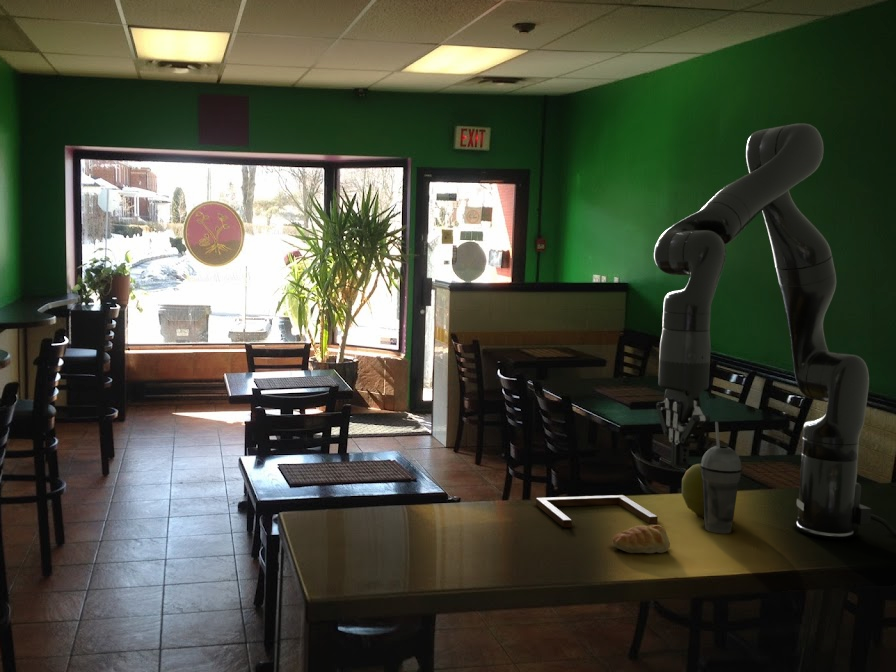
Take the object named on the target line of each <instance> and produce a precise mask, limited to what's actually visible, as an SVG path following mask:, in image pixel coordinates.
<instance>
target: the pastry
mask: <svg viewBox="0 0 896 672" xmlns="http://www.w3.org/2000/svg"><path fill="white" fill-rule="evenodd" d="M611 546H613V547H614V548H616V549H619V550H621V551H623V552H626V553H630V554H634V553H637V554H655V553H659V554H661V553H662V554H663V553H665V552H667V551H668V550H669V549H670V547H671V542H670V539H669V536H668V535H667V532H666V529H665V528H664V527H663V526H661V525H660V524H649V525H634V526H632V527H630V528H628V529H626V530H622V531H620V532H619V533H617V534H614V535H613V538H612V541H611Z"/></svg>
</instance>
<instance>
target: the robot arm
mask: <svg viewBox="0 0 896 672" xmlns="http://www.w3.org/2000/svg"><path fill="white" fill-rule="evenodd" d="M824 149H825V148H824V141H823V138H822V136H821V133H820V131H819V130H818V129H817V127H815V126H814V125H812V124H809V123H791V124H786V125H785V124H784V125H780V126H774V127H769V128H764V129H759V130H756V131H754V132H752V133H751V135H750V136H749V137H748V139H747V143H746V148H745V158H746V164H747V169H748V174H745V175H743V176H741V177H740V178H738V179H736V180H735V181H732V182H731V183H729V184H727V185H726V186H724V187H723V188H721V189H720V190H719V191H718V192H716V193H715V194H713V195H714V196H712V198H710V199H709V200H708V201H707V202H706V203H705V204H704V205H703V206H702V207H701V209H700V210H699V211H697V212H695V213H693V214H690V215H689V216H687V217H685V218H684V219H681V220H680V221H678V222H676V223H674V224H673V225H671V226H670V227H669V228H667V229H666V230H665V231H663V233H662V234H661V235H660V236H659V238H658V240H657V242H656V244H655V246H654V252H653V259H654V262H655V264H656V266H657V268H658V269H659V270H660V271H661V272H663V273H665V274H668V275H673V276H689V279H688V282H687V284H686V285H685V287H684V288H683V289H678V290H673V291H669V292H668V293H667V294H666V295H665V296H664V299H663V308H662V309H663V310H662V311H663V312H662V329H661V336H660V342H659V356H658V357H659V358H658V360H659V361H658V378H657V379H658V381H657V383H658V386H659V387H660V388H662V389H665V391H664V394H663V395H664V397H663V398H664V399H663V401H657V402H656V403H655V407H656V408H655V409H656V411H657V415H658V418H659V422H660V426H661V429H662V432H663V433H662V434H663V435H664V436H665V437H668V442H669V443H671V447H670V449H671V450H670V465H671V466H672V467H674V468H675V469H688V467H689V464H690V463H689V462H690V446H691V445H692V444H693V445H694V444H698V443H699V442H700V440H701V438H702V436H703V434H704V433H705V431H706V429H707V427H708V426H709V424H710V422H711V416H710V415H709V414H704V413H703V411H702V405H703V402H702V396H701V393H702V392H703V391H706V390H708V389H709V386H710V369H711V368H710V367H711V349H712V348H711V346H712V345H711V344H712V343H711V331H710V329H711V312H712V303H713V300H714V297H715V293H716V290H717V287H718V285H719V281H720V278H721V276H722V273H723V271H724V268H725V267H724V266H725V263H726V257H727V250H726V245H728V244H730V243H731V242H732V241H734V240H735V239H736V238H737V237H738V236H739V235H740V234H741V232H742V231H744V230H745V228H747V226H748V225H749V224H750V223H751V222H752V221H753V220H754V219H755V218H756V217H757V216H758V215H759V214H760V213H761V212H762V215H763V219H764V223H765V225H766V229H767V233H768V237H769V242H770V245H771V250H772V251H771V252H772V256H773V262H774V267H775V271H776V275H777V280H778V284H779V288H780V291H781V295H782V300H783V305H784V309H785V314H786V319H787V325H788V330H789V331H788V332H789V336H790V344H791V345H790V347H791V354H792V364H793V372H794V378H795V382H796V385H797V388H798V389H799V391H800V393H802V395H803V396H804V397H806V398H808V399H811V400H815V401H820V402H823V403H826V404H827V405H826V410H825V414H824V415H823V416H822V417H818V418H815V419H809V420H807V421H805V422H804V423H803V426H802V439H801V456H800V457H801V458H800V472H799V487H798V489H799V491H798V498H796V507H797V520H796V527H795V528H796V530H798V531H799V532H801V533H803V534H804V535H808V536H811V537H814V538H820V539H826V540H839V541H840V540H849V539H852V538H853V537H858V536H859V526H871V520H873V521H876V522H878V523H879V524H881V525H882V526H884V528H886V529H887V531H888V532H889V533H890V534H891V535H893V536H894V537H896V530H895V529H894V527H892V525H891V524H890V523H889V522H888V521H887V520H885V519H884V518H882V517H879V516H878V515H875V514H873V513H872V508H871V507H869V506H866V505H863V504H861V492H862V485H861V483H859V482H857V477H858V461H859V446H860V445H859V443H860V435H861V433H862V430H863V427H864V425H865V421H866V413H867V412H866V411H867V403H868V394H869V388H870V375H869V368H868V366H867V363H866V362H865V360H864V359H863V358H862V357H860V356H859V355H856V354H850V353H845V352H836V351H830V350H829V348H828V346H827V342H826V338H825V333H824V332H825V331H824V320H825V316H826V313H827V310H828V309H829V306H830V305H831V302H832V299H833V297H834V295H835V291H836V288H837V274H836V273H837V272H836V269H835V265H834V258H833V255H832V250H831V247H830V244H829V243H828V240H827V239H826V238H825V237H824V235H823V234H822V233H821V232H820V230H819V229H817V227H816V226H815V225H814V224H813V223H812V221H810V220H809V219H808V218H807V217H806V216H805V215H804V214H803V213H802V212H801V210H800V209H799V208H798V207H797V205H796V204H795V202H794V200H793V197H792V196H791V193H790V190H791V189H793V187H795V186H796V185H798V184H799V183H800V182H803V181H804V180H806V179H807V178H808V177H810V176H812V174H814V173H815V172H816V171H817V170H818V168H819V167H820V165H821V163H822V161H823V158H824Z"/></svg>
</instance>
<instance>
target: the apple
mask: <svg viewBox="0 0 896 672" xmlns="http://www.w3.org/2000/svg"><path fill="white" fill-rule="evenodd" d="M700 465H701V463H696V464H693V465H691V466H690V467H689V468H687V469H686V471H685V473H684V475H683V477H682V479H681V495H682V498H683V500H684V502H685V505H686V507H687V508H688V509H689V510H690V511H691V512H693V513H694V514H695V515H697V516H700V517H704V498H703V478H702V474H701V467H700Z"/></svg>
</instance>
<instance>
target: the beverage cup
mask: <svg viewBox="0 0 896 672" xmlns="http://www.w3.org/2000/svg"><path fill="white" fill-rule="evenodd" d="M714 427H715V441H716V445H714V446H712V447H710V448H708V449H707V451H705V453H704V454H703V456H702V458H701V462H700V464H701V465H700V467H701V474H702V478H703V498H704V516H703V518H704V529H705V530H706V531H708V532H712V533H715V534H729V533H731V532H732V527H733V522H734V516H735V510H736V509H735V508H736V502H737V496H738V488H739V482H740V480H741V476H742V472H743V467H742V462H741V461H742V460H741V458H740V456H739V455H738V453H737V452H736V451H735V450H734V449H733V448H731V447H730V446H726V445H720V443H721V442H720V429H719V421H715V422H714Z"/></svg>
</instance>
